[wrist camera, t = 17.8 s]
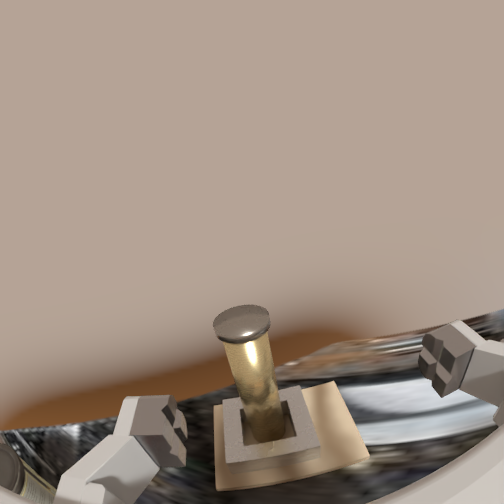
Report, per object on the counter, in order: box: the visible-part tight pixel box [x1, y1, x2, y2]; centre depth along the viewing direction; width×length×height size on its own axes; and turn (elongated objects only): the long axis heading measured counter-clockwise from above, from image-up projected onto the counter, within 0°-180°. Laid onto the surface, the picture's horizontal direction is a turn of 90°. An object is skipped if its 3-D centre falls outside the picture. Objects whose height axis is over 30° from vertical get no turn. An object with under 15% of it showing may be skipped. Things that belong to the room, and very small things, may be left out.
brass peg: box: [213, 305, 286, 443], centre depth 32 cm, size 6×6×20 cm
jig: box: [223, 385, 321, 474], centre depth 34 cm, size 12×12×4 cm
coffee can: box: [0, 443, 57, 504], centre depth 15 cm, size 10×10×14 cm
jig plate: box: [214, 381, 370, 491], centre depth 34 cm, size 20×16×1 cm
